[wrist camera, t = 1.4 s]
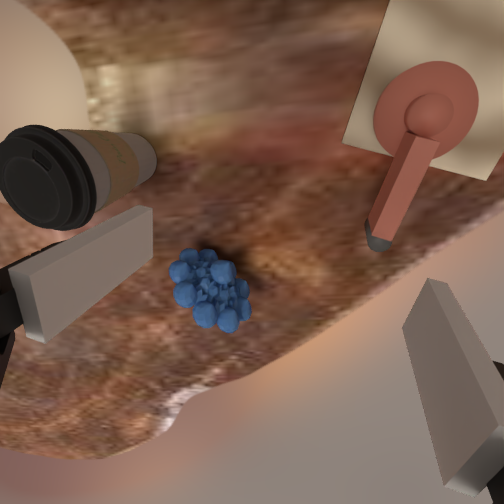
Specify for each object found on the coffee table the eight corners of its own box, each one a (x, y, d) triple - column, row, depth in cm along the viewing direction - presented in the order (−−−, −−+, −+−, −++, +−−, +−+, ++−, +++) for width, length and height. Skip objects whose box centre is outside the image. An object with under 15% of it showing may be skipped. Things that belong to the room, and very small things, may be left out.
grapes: (279, 267, 40) (257, 324, 30) (253, 298, 43) (225, 360, 33) (207, 216, 40) (159, 256, 29) (186, 252, 43) (137, 299, 33)
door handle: (394, 54, 23) (408, 41, 18) (490, 74, 22) (531, 66, 17) (334, 216, 30) (332, 238, 25) (406, 237, 29) (419, 264, 24)
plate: (459, -206, 21) (491, -288, 16) (693, -183, 19) (799, -269, 14) (341, 141, 32) (341, 148, 27) (481, 178, 30) (504, 190, 25)
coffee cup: (172, 128, 36) (75, 143, 23) (166, 202, 40) (83, 250, 27) (102, 109, 37) (-27, 113, 24) (104, 183, 42) (-3, 219, 29)
